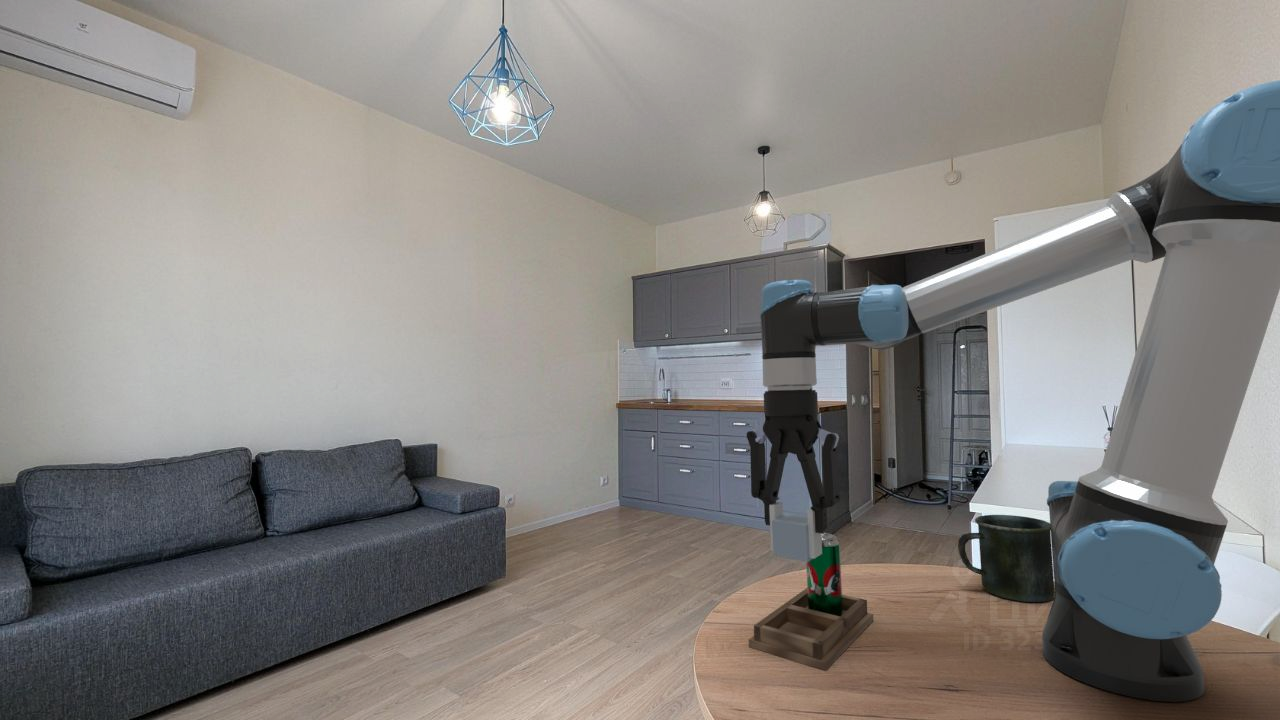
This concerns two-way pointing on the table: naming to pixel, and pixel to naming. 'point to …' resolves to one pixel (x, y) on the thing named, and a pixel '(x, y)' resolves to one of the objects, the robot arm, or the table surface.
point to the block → (791, 537)
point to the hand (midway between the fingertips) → (796, 551)
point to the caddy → (811, 631)
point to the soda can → (825, 578)
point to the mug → (1013, 557)
